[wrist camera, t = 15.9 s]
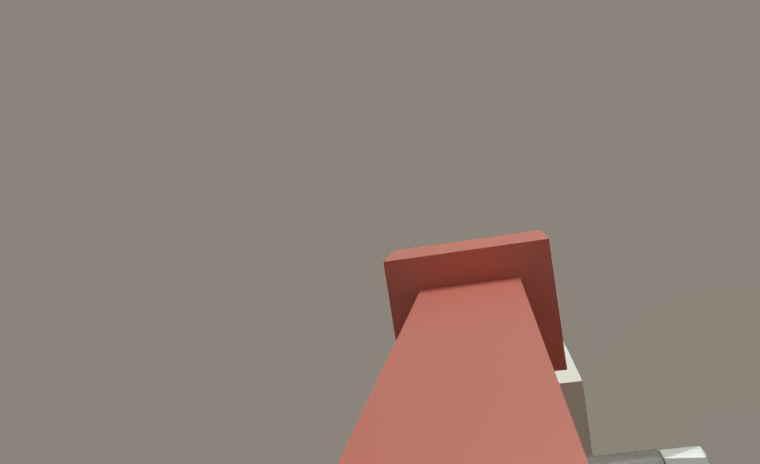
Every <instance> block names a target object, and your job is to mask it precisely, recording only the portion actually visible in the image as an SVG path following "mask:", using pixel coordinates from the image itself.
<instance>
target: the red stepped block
mask: <svg viewBox="0 0 760 464" xmlns="http://www.w3.org/2000/svg"><path fill="white" fill-rule="evenodd" d="M384 268H385V274H386V280H387V287H388V293H389V299H390V306H391V312H392V318H393V325H394V330H395V337H396V342H395V344H394V347H393V349H392V351H391V353H390V355H389V357H388V359H387V361H386V363H385V365H384V368H383V370H382V372H381V374H380V376H379V378H378V380H377V382H376V385H375V386H374V389H373V391H372V393H371V395H370V397H369V399H368V401H367V403H366V405H365V407H364V410H363V412H362V414H361V416H360V418H359V420H358V422H357V424H356V426H355V428H354V430H353V433H352V435H351V437H350V439H349V441H348V443H347V445H346V447H345V449H344V451H343V454H342V456H341V458H340V460H339V462H338V464H589V463H588V460H587V458H586V455H585V452H584V449H583V447H582V444H581V441H580V439H579V436H578V433H577V431H576V428H575V425H574V422H573V420H572V417H571V414H570V412H569V409H568V406H567V404H566V401H565V398H564V395H563V393H562V390H561V387H560V385H559V382H558V379H557V376H556V374H555V371H561V370H567V365H566V358H565V351H564V344H563V337H562V330H561V323H560V316H559V309H558V302H557V296H556V287H555V280H554V273H553V266H552V260H551V252H550V245H549V239H548V238H547V236H546V235H545V234H543V232H542V231H541V230H536V231H529V232H522V233H515V234H508V235H501V236H494V237H487V238H481V239H473V240H466V241H459V242H452V243H445V244H438V245H431V246H425V247H417V248H411V249H403V250H397V251H394V252H393V253H392V254H391V255H390V256H389V257H388V258H387V259H386V260H385V261H384Z"/></svg>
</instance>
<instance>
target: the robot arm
mask: <svg viewBox="0 0 760 464" xmlns="http://www.w3.org/2000/svg"><path fill="white" fill-rule="evenodd" d="M586 458H587V460H588V463H589V464H710V462H709V459H708V457H707V454H706V453H705V452H704V451H703V450H702V448H701V447H699V446H692V447H683V448H674V449H665V450H658V451H657V450H656V449H653V450H644V451H635V452H627V453H617V454H608V455H599V456H590V457H586Z"/></svg>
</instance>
